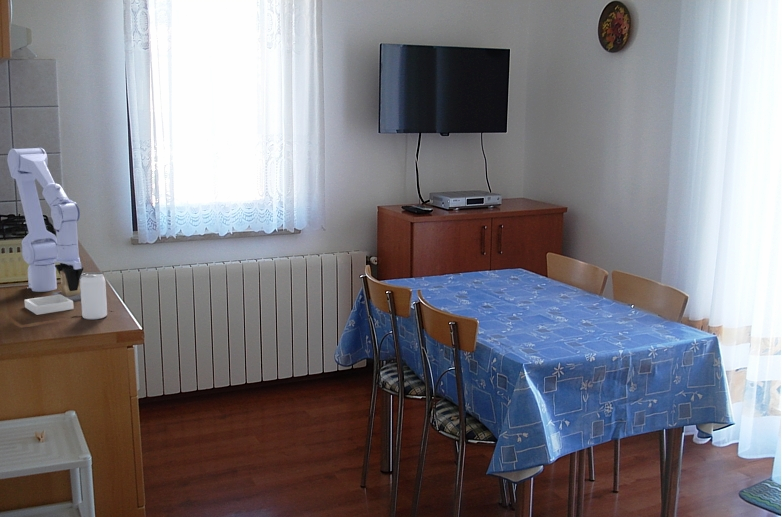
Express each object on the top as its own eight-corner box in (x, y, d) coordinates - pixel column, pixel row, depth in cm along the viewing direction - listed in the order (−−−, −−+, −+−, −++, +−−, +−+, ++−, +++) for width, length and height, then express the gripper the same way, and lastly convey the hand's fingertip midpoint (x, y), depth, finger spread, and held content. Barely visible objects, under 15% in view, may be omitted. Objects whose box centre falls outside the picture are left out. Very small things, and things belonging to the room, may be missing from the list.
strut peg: (62, 297, 237) (60, 271, 235) (75, 295, 239) (73, 269, 238) (66, 299, 234) (64, 273, 232) (80, 297, 237) (78, 271, 235)
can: (99, 320, 216) (96, 277, 214) (77, 319, 217) (74, 276, 215) (111, 314, 222) (109, 272, 220) (90, 313, 223) (88, 271, 221)
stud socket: (50, 299, 237) (50, 292, 237) (81, 294, 243) (80, 287, 243) (61, 305, 231) (60, 298, 230) (92, 300, 236) (91, 293, 236)
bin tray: (25, 309, 226) (24, 299, 225) (61, 304, 232) (60, 294, 231) (36, 317, 218) (36, 306, 218) (73, 311, 225) (73, 301, 224)
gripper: (45, 241, 236) (48, 286, 239) (62, 249, 226) (65, 295, 228) (69, 239, 241) (72, 283, 243) (87, 246, 230) (90, 292, 233)
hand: (70, 289), depth 236 cm, fingers closed on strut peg, 4 cm apart
